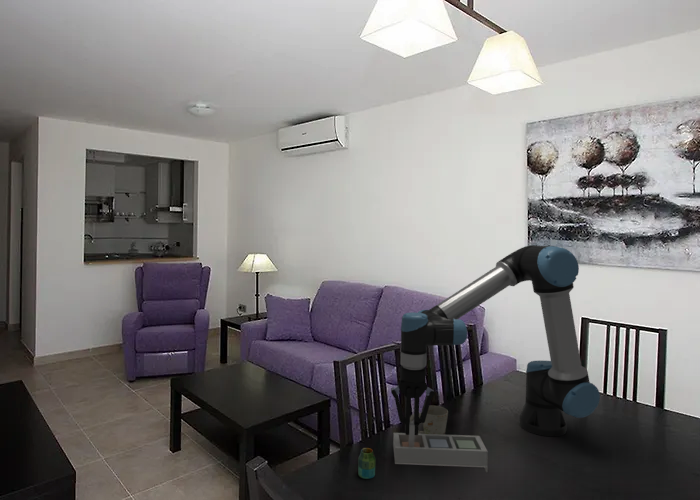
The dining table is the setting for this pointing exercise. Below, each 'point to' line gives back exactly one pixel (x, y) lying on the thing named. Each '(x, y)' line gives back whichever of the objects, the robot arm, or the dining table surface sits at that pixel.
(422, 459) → the three-slot tray
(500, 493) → the dining table surface
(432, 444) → the key
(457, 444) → the key
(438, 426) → the mug
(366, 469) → the jar
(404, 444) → the key
